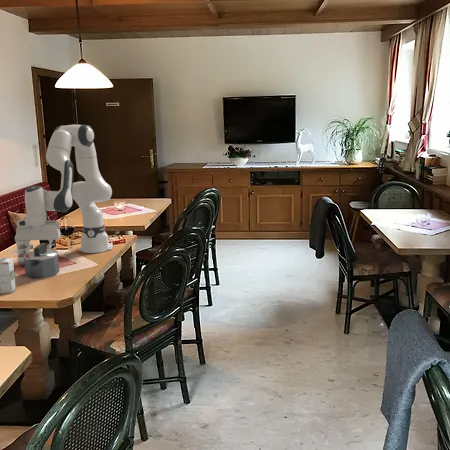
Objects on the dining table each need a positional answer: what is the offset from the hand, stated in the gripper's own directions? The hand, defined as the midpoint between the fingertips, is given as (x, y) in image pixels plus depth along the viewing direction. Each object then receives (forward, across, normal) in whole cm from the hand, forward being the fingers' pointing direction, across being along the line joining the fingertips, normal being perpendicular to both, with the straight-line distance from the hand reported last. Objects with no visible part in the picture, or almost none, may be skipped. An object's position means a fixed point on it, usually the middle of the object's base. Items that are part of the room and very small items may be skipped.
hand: (40, 248), depth 244 cm
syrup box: (+13, +7, +24) cm, 28 cm away
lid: (+5, 0, 0) cm, 5 cm away
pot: (+13, 0, 0) cm, 13 cm away
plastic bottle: (+13, +15, -16) cm, 25 cm away
